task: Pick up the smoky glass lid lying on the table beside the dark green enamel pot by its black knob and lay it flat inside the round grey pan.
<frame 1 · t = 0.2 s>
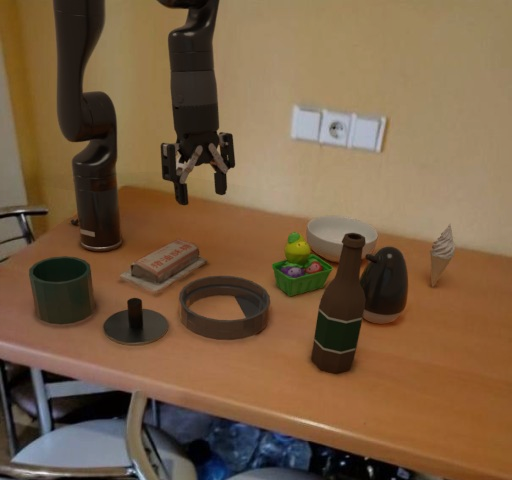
hand: (202, 199, 99), 22 cm above the table, tool pointing down, fingers open, 8 cm apart
pan: (224, 317, 109), on the table
pot: (66, 311, 107), on the table
fruit basket: (298, 286, 122), on the table
penguin figurine: (375, 317, 113), on the table
lid: (136, 327, 103), point 1 cm above the table
packaged product: (165, 273, 123), on the table
beer bottle: (332, 362, 100), on the table
cereal bowl: (338, 256, 135), on the table
ice cream cone: (432, 287, 126), on the table
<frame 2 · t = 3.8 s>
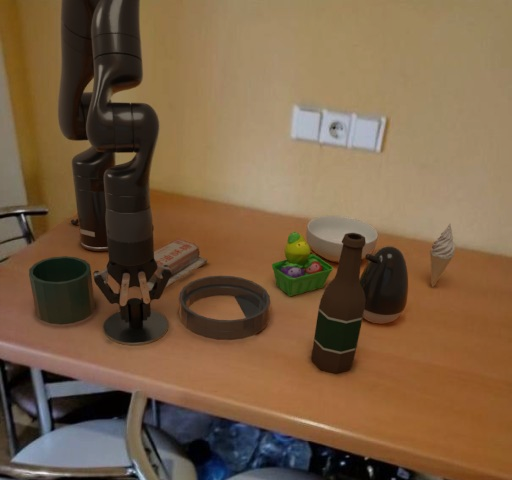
hand: (135, 318, 102), 2 cm above the table, tool pointing down, fingers closed on lid, 2 cm apart
lid: (136, 327, 103), point 1 cm above the table, touching gripper
everything else where it was.
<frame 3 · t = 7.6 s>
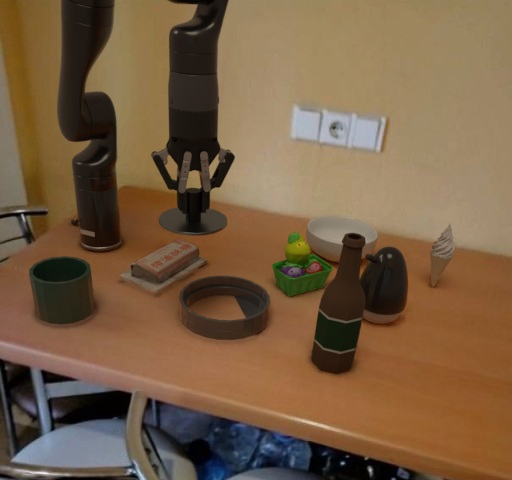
hand: (193, 211, 95), 22 cm above the table, tool pointing down, fingers closed on lid, 2 cm apart
lid: (193, 221, 95), point 20 cm above the table, touching gripper
everything else where it was.
when the fingers open (3 cm above the table, at t = 11.7 s): lid stays where it is, resting on pan.
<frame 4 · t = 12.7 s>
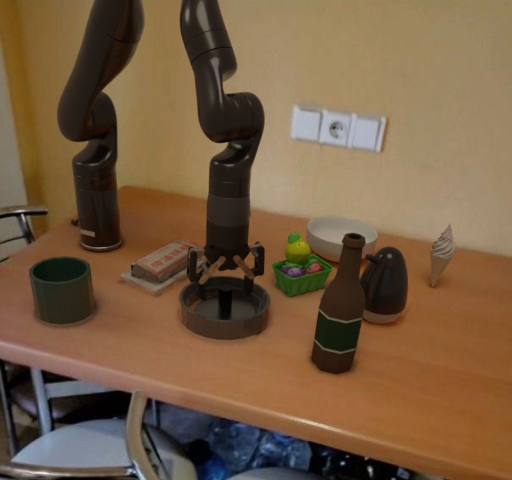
hand: (224, 296, 107), 5 cm above the table, tool pointing down, fingers open, 8 cm apart
lid: (224, 312, 108), point 1 cm above the table, touching pan
everything else where it was.
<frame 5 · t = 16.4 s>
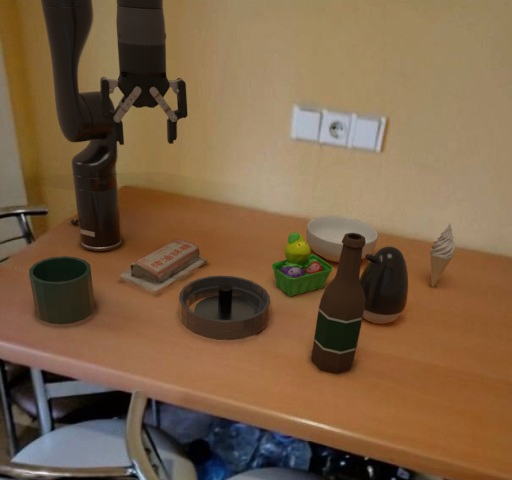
hand: (146, 143, 98), 30 cm above the table, tool pointing down, fingers open, 8 cm apart
nothing on the table moved.
at the end: lid 0.1 cm off-centre in the pan, point 1.1 cm above the pan's base; lid tilted 0°; lid moved 17.1 cm from its start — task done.
